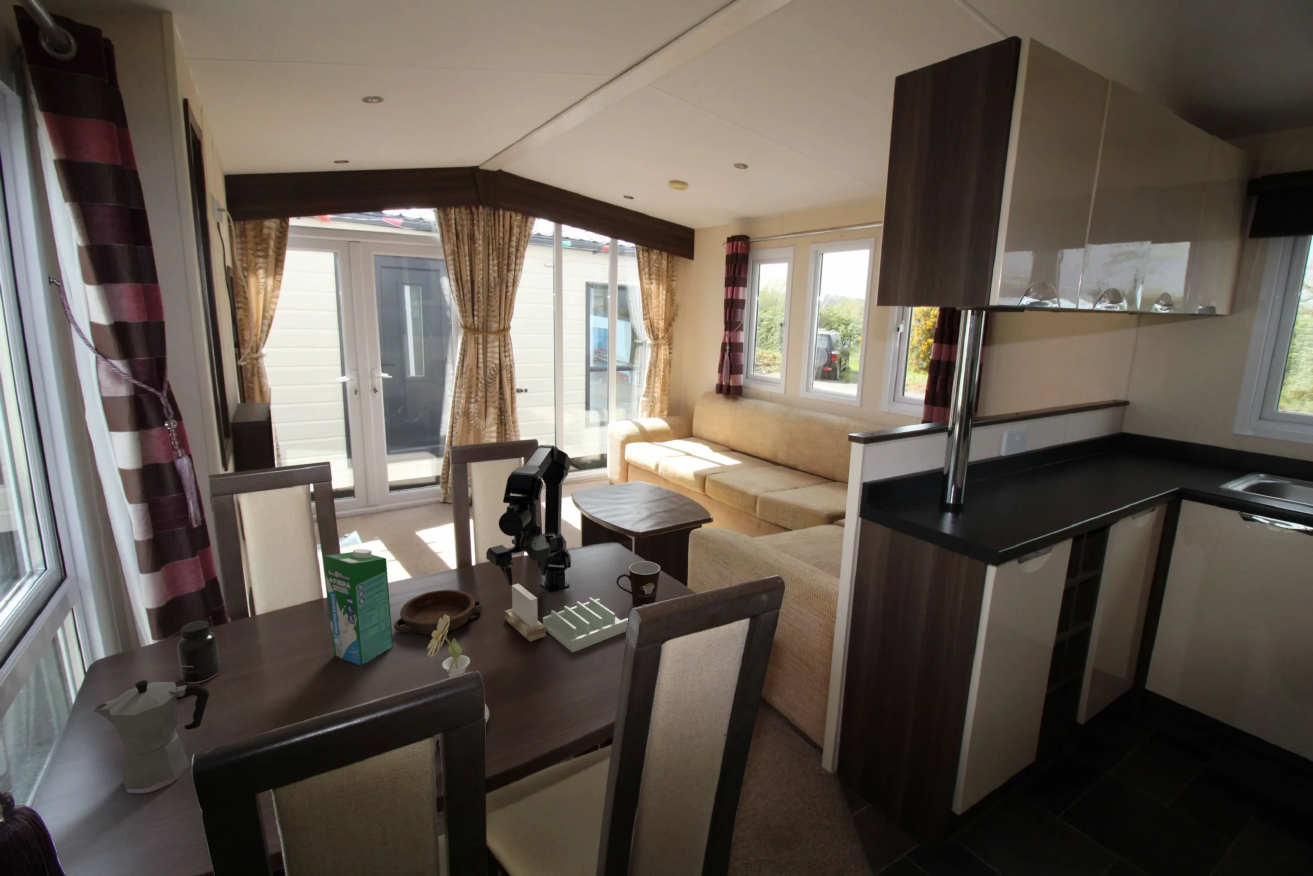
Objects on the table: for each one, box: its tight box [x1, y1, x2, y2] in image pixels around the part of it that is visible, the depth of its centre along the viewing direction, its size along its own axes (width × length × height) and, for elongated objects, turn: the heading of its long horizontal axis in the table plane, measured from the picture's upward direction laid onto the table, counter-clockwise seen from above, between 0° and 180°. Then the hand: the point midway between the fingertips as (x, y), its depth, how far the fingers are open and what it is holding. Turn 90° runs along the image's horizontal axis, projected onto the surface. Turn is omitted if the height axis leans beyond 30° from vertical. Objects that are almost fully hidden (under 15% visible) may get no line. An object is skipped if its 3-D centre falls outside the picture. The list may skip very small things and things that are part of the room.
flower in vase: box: [426, 615, 490, 723], centre depth 115 cm, size 13×11×25 cm
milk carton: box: [323, 548, 394, 666], centre depth 140 cm, size 9×9×25 cm
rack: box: [542, 597, 628, 653], centre depth 154 cm, size 14×17×5 cm
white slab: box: [511, 583, 539, 629], centre depth 154 cm, size 10×2×10 cm, turn 40°
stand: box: [504, 608, 547, 642], centre depth 155 cm, size 13×4×2 cm, turn 40°
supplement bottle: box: [176, 620, 221, 682], centre depth 131 cm, size 7×7×12 cm
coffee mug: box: [615, 560, 661, 607], centre depth 169 cm, size 12×9×10 cm
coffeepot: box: [93, 679, 210, 790], centre depth 104 cm, size 15×9×18 cm, turn 114°
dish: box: [393, 589, 483, 635], centre depth 157 cm, size 18×22×5 cm
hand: (527, 580), depth 152 cm, fingers open, 9 cm apart
